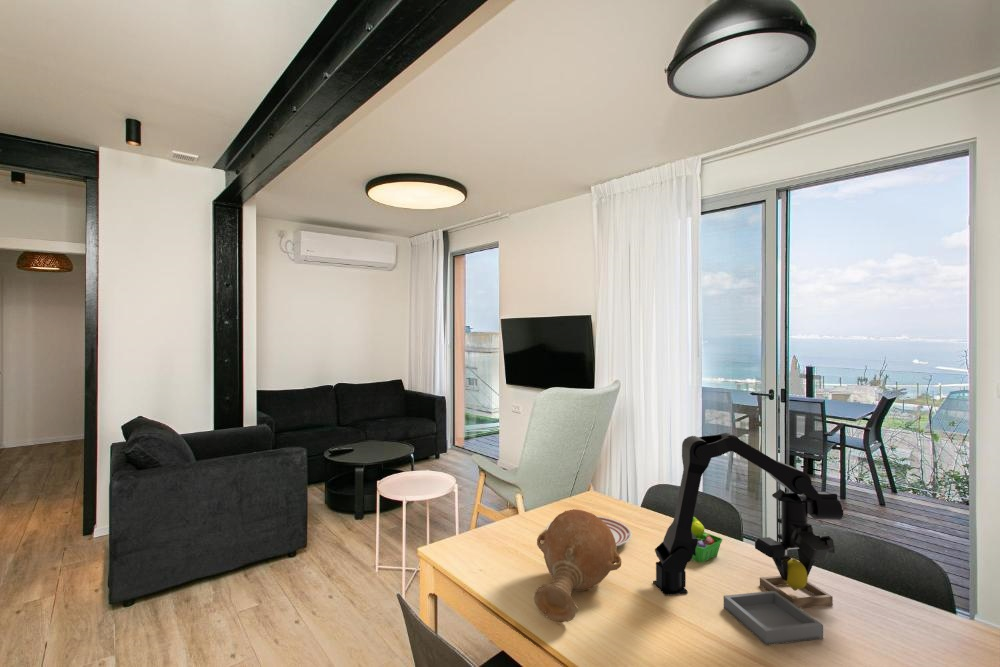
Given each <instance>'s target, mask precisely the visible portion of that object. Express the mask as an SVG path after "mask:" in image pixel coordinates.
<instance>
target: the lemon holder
mask: <svg viewBox="0 0 1000 667" xmlns="http://www.w3.org/2000/svg"><path fill="white" fill-rule="evenodd" d="M783 585H787V584H786V583H785V581H784V580H783V579H782V577H781V575H774V576H762V577H759V586H760V587H762V589H764V590H766V591H776V592H777V593H779V594H780V595H782V596H783V597H784V598H786V599H787V600H789V601H790V602H792V603H793V604H794V605H796V606H797V607H799V608H800V609H805V608H815V607H822V606H823V607H824V606H831V605H833V604H834V602H833V595H832V594H829V593H828V592H826V591H825V590H823V589H821V588H820V587H818V586H816V585H814V584H813V583H811V582H810V581H808V580H807V584H806V586H805V587H804V588H803V589H804V590H806V591H807V592H808V593H810V594H812V595H813V596H803V597H796V598H795V597H794V598H793V597H792V596H790V595H789V594H788V593H786V592H785V591H783V590H782V589H780V588H779V587H778V586H783Z"/></svg>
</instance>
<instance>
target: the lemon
mask: <svg viewBox="0 0 1000 667" xmlns="http://www.w3.org/2000/svg"><path fill="white" fill-rule="evenodd" d="M808 578H809V576H808V577H807V571H806V569H805V567H804V565H803V564H802V563H801V562H799V560H797V558H792V559H791V560H789V561H788V571H787V581H785V580H784V581H785V583H786V584H785V585H787V586H788V587H789V588H791V590H793V591H797V590H802V589H804V587H805V586H806V584H807V581H808Z"/></svg>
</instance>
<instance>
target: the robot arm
mask: <svg viewBox="0 0 1000 667" xmlns="http://www.w3.org/2000/svg"><path fill="white" fill-rule="evenodd" d="M729 452H732V453H734V454H736V455H738V456H739V457H741V458H743V459H745V460H747V461H748V462H749V463H751V464H753V465H755V466H756V467H758V468H759V469H762V470H764V471H765V472H766V473H767V474H769V475H768V476H770V477H771V478H772V479H773V480H775V481H776V482H777V483H778V484H779V485H781V486H782V487H784V488H785V489H787V490H789V491H790V492H785V491H784V490H782V489H781V488H779V489H778V490H777V491H775V492H774V493H772V495H771V497H773V499H775V500H777V501H778V502H780V505H781V507H780V511H781V512H780V513H781V514H780V517H778V518H777V523H779V524H780V525H781V528H780V532H781V533H777V538H778V539H779V540H781V541H777V540H775V539H773V538H771V537H767V536H766V537H758V538H756V539H755V540H754V548H755V549H756V550H757V551H759V552H760V553H762V554H763V555H765V556H766V557H769V558H771V559H772V560H773V563H774V565H775V566H776V569H777V571H778V573H779V576H781V577H782V579H783V580H785V581H787V571H788V561H789V560H791V559H793V558H792V557H790V556H789V555H788V551H789V550H797V554H798V561H799V562H801V563H802V564H803V565H804V567H805V569H806V571H807V577H808V578H809V575H810V572H811V571H812V569H813V566H814V564H815V562H816V561H817V560H823V561H824V560H826V559H827V557H828V555H829V554H835V544H834V539H833V538H832V537H831V536H829V535H826V536H825V535H824V536H822V535H821V534H818V533H814V529H813V524H812V525H811V524H809V522H808V521H809V520H808V518H809V517H808V515H810V517H811V518H812V519H815V520H825V521H826V520H830V521H839V520H842V519H843V516H844V508H843V506H842V504H841V501H840V500H839V498H838V493H836V492H834V491H829V490H828V491H818V490H816V488H815V487H814V486H813V483H812V478H811V476H810V475H809V474H807V473H806V472H804V471H802V470H800V469H798V468H796V467H794V466H792V465H789V464H786V463H784V462H781V461H779V460H775V459H774V458H772V457H770V456H768V455H767V454H765V453H763V452H762V451H760V450H758V449H756V448H754V447H753V446H751V445H750V444H748V443H747V442H745V441H743V440H741V439H740V438H739V437H738V436H736V435H734V434H732V433H730V432H724V433H720V434H711V435H710V434H709V435H703V436H696V435H691V436H687V437H686V438H684V440H683V441H682V443H681V460H682V465H683V466H682V467H683V469H682V470H683V471H682V476H681V481H680V487H679V491H678V496H677V502H676V507H675V512H674V517H673V522H672V523H670V525H669V526H668V528H667V529H666V531H665V532H666V533H665V534H664V535H665V536H664V538H663V541H662V542H661V543H660V544H659V545H658V546H657V547H655V549H654V552H655V554H656V557H657V558H658V560H659V561H656V562H655V580H653V581H652V582H653V585H654V586H655V587H656V588H657V589H658V590H659V591H660V593H662V594H663V595H665V596H673V595H682V594H688V593H689V591H688V590H687V589H686V584H687V582H686V579H687V578H686V576H687V575H686V573H687V572H686V569H687V568H686V567H687V565H688V563H690V562H691V561H693V560H692V557H693V555H694V556H696V553H695V549H696V546H697V543H698V539H697V538H696V537H695V535H694V534H693V533H692V531H691V527H692V522H693V517H695V516H694V515H695V512H696V511H695V510H696V505H697V501H698V495H699V490H700V486H701V481H702V476H703V474H704V473H705V472H706V470H707V469H708V467H709V465H710V462H711V460H712V458H718V457H720V456H722V455H725V454H727V453H729ZM803 495H804V496H803Z"/></svg>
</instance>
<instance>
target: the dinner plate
mask: <svg viewBox="0 0 1000 667" xmlns="http://www.w3.org/2000/svg"><path fill="white" fill-rule="evenodd" d="M596 516H597V515H596ZM597 517H598V518H600V519H601V520H602V521H604V522H605V523H606V524H607V526H608V527H609V528H610V530H611V532H612V533H613V536H614V538H615V542H616V548H618V547H621V546H623V545H625V544H626V543H628V542H629V541H630V539H631V538H632V534H633V533H632V531H631V529H630V528H629V527H628V526H627V525H625V524H624V523H622V522H621V521H617V520H615V519H612V518H609V517H604V516H600V515H599V516H597ZM550 524H551V522H549V523H548V524H547V526H546V530H545V531H547V530H548V527H549V526H550Z"/></svg>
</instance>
